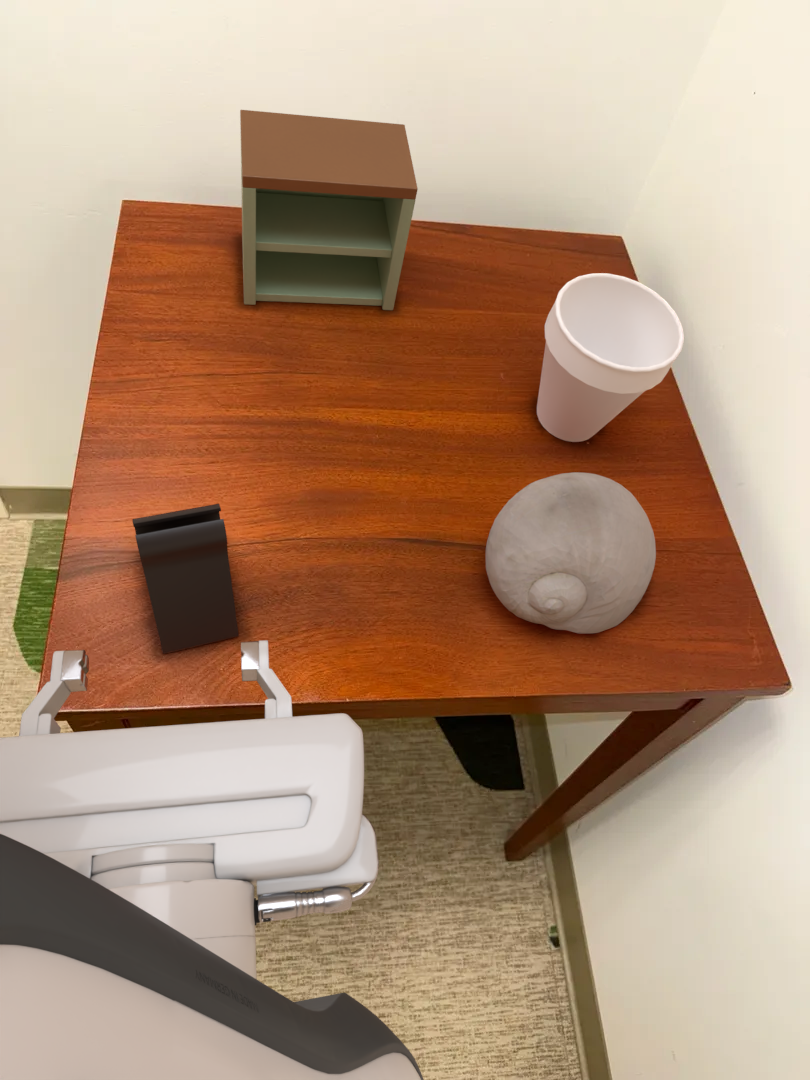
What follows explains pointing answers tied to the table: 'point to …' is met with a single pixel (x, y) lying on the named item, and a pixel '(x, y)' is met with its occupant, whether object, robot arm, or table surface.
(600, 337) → the cup
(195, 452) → the table surface
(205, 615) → the phone stand
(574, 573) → the seashell
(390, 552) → the table surface
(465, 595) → the table surface
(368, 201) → the shelf
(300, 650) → the table surface
